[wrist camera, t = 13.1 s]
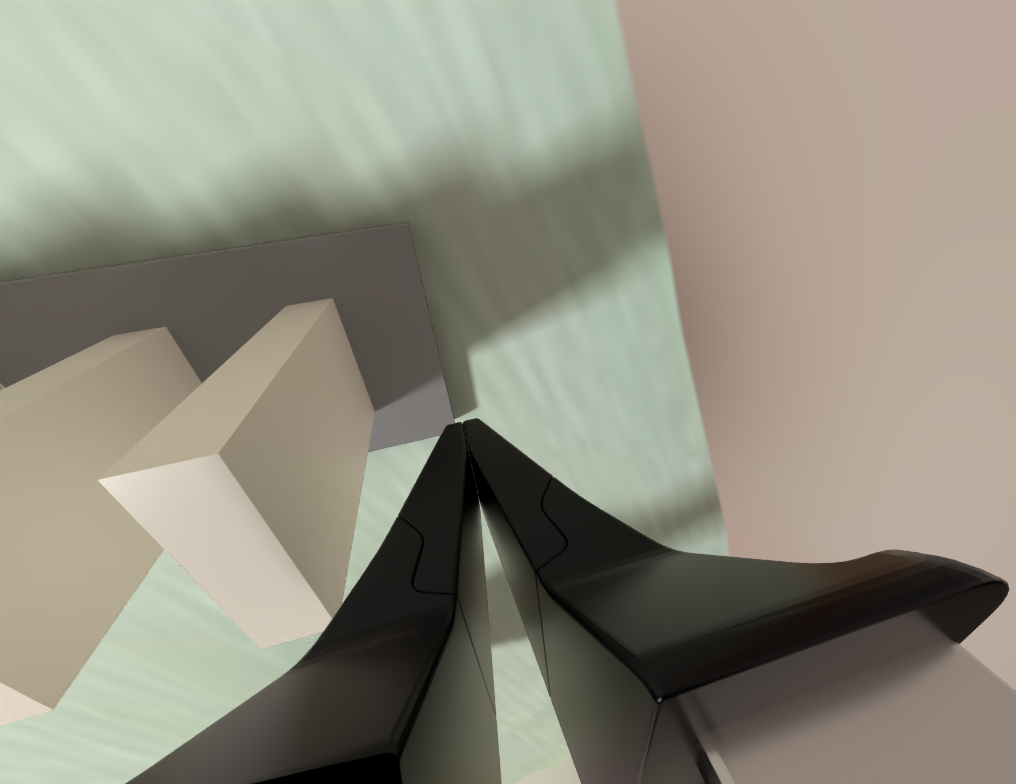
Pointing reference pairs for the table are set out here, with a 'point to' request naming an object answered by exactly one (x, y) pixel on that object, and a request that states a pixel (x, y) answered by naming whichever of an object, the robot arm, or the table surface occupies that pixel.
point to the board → (250, 315)
